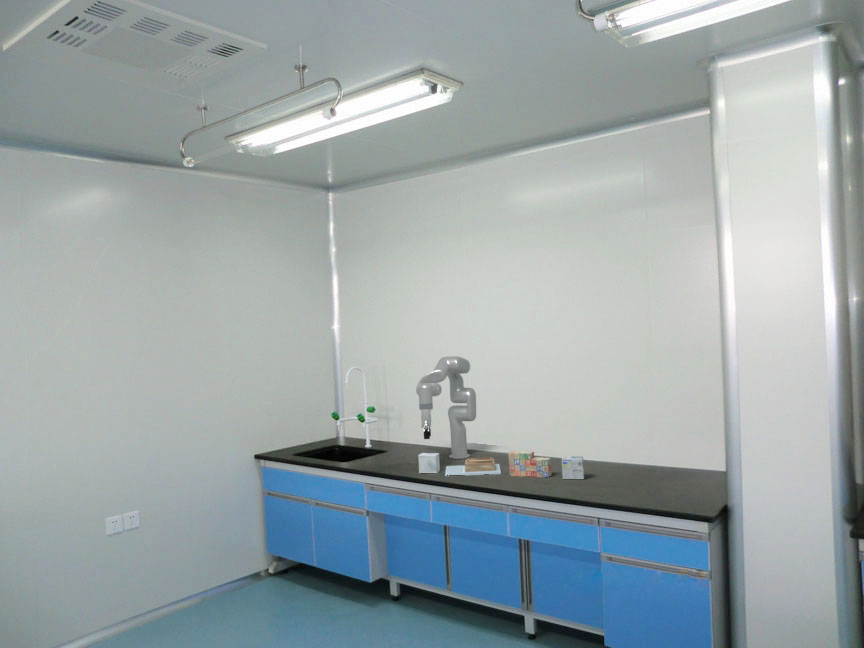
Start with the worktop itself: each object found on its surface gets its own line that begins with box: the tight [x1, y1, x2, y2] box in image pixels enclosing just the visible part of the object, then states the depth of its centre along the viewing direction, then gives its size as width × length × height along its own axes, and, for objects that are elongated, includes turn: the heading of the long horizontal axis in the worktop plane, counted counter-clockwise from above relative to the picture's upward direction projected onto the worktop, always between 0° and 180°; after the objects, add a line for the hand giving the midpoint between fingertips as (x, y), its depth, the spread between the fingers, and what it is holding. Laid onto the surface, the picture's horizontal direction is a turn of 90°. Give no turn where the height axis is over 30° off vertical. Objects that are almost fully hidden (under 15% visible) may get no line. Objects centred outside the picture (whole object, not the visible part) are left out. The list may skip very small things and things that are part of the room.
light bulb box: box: [561, 455, 585, 480], centre depth 347 cm, size 11×7×11 cm, turn 76°
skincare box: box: [417, 452, 441, 474], centre depth 379 cm, size 10×6×10 cm, turn 69°
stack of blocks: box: [508, 450, 553, 478], centre depth 359 cm, size 21×6×12 cm, turn 64°
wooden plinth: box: [464, 456, 496, 472], centre depth 378 cm, size 14×16×5 cm
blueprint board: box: [444, 463, 502, 477], centre depth 378 cm, size 22×30×1 cm
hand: (427, 437), depth 379 cm, fingers open, 9 cm apart
